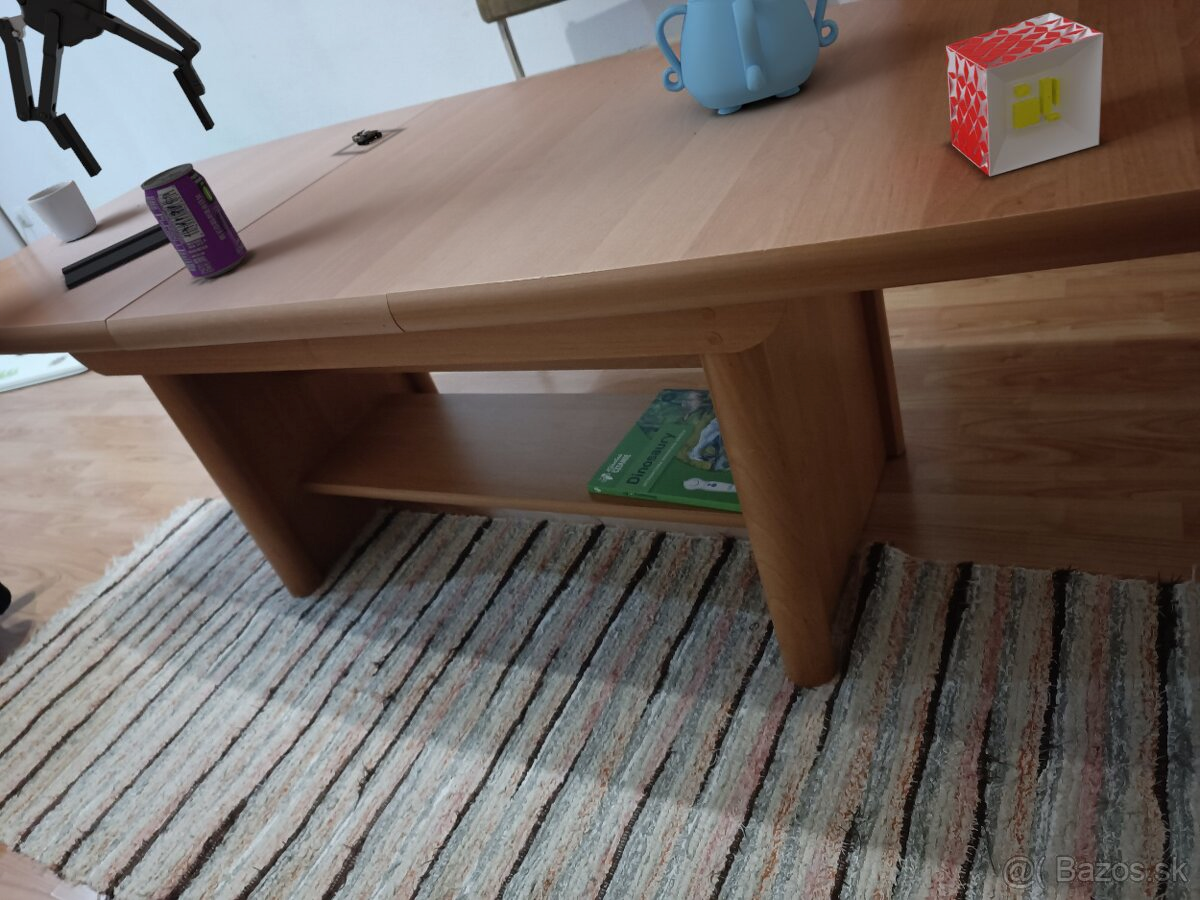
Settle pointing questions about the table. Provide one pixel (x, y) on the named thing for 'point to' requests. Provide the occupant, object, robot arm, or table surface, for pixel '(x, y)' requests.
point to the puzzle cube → (1025, 92)
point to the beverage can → (194, 221)
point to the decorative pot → (743, 49)
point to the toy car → (366, 137)
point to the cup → (63, 211)
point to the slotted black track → (114, 256)
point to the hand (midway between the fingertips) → (154, 150)
